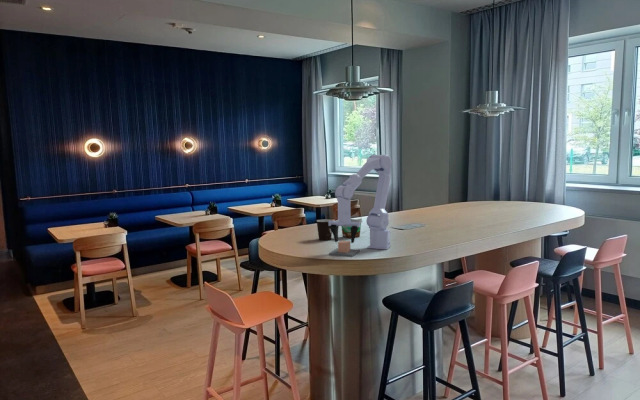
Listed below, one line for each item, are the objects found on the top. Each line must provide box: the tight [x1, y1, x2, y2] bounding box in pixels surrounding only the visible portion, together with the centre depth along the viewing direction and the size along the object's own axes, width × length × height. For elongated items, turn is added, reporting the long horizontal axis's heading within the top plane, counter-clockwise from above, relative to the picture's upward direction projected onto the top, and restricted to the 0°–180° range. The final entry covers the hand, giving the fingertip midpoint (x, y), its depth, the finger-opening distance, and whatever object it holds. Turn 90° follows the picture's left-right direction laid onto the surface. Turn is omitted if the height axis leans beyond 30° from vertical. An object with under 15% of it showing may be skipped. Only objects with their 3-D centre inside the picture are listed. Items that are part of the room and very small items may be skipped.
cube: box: [337, 240, 351, 253], centre depth 212 cm, size 4×4×4 cm
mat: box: [328, 247, 361, 257], centre depth 212 cm, size 11×11×1 cm
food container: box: [340, 218, 363, 239], centre depth 250 cm, size 12×6×10 cm, turn 101°
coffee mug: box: [316, 219, 334, 242], centre depth 245 cm, size 12×9×10 cm
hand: (344, 242), depth 212 cm, fingers open, 7 cm apart
